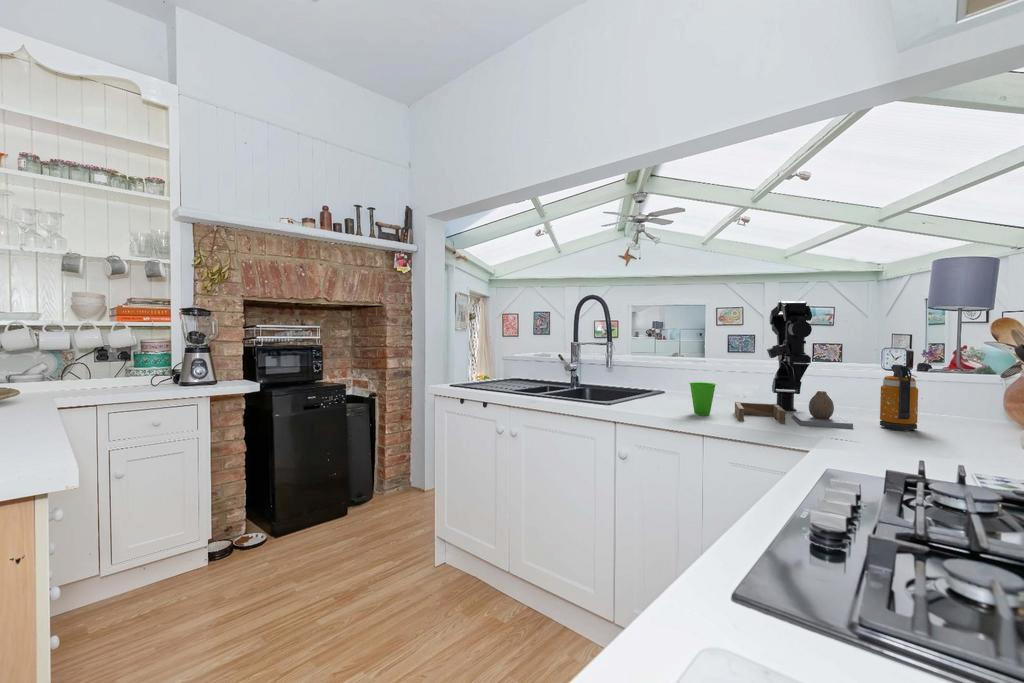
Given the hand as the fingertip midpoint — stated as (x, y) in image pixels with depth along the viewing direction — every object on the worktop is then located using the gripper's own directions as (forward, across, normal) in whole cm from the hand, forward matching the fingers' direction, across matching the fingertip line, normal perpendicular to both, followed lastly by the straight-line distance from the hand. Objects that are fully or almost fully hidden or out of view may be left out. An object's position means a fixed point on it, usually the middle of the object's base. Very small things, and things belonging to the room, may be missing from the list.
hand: (794, 382), depth 166 cm
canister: (+12, +13, +26) cm, 32 cm away
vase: (+11, +10, +6) cm, 16 cm away
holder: (+12, +8, -12) cm, 19 cm away
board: (+12, +10, +6) cm, 17 cm away
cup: (+12, +8, -30) cm, 33 cm away
